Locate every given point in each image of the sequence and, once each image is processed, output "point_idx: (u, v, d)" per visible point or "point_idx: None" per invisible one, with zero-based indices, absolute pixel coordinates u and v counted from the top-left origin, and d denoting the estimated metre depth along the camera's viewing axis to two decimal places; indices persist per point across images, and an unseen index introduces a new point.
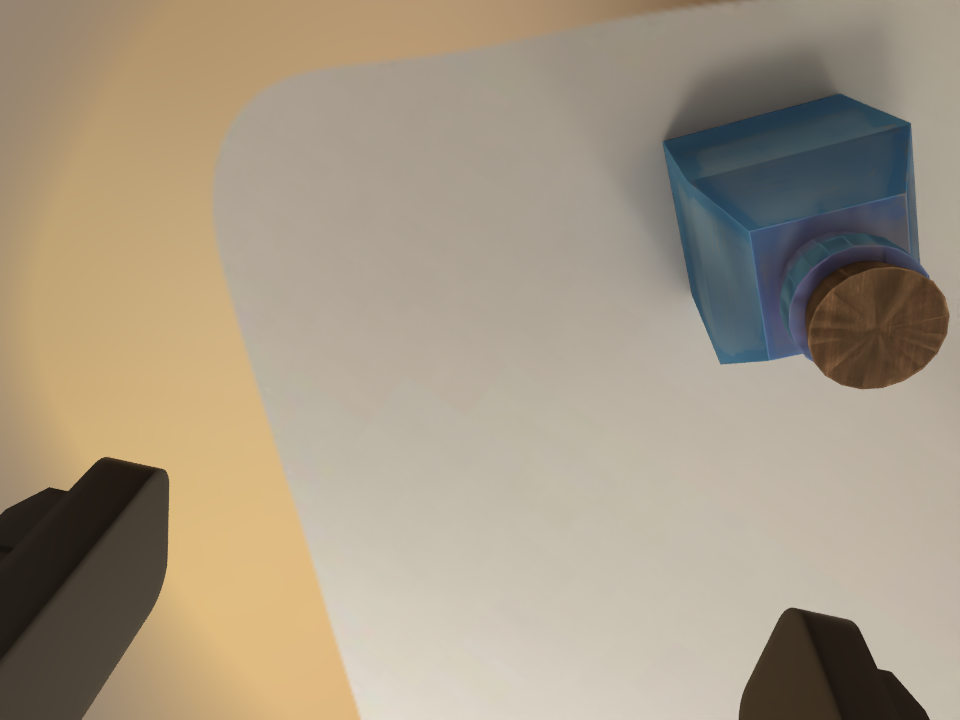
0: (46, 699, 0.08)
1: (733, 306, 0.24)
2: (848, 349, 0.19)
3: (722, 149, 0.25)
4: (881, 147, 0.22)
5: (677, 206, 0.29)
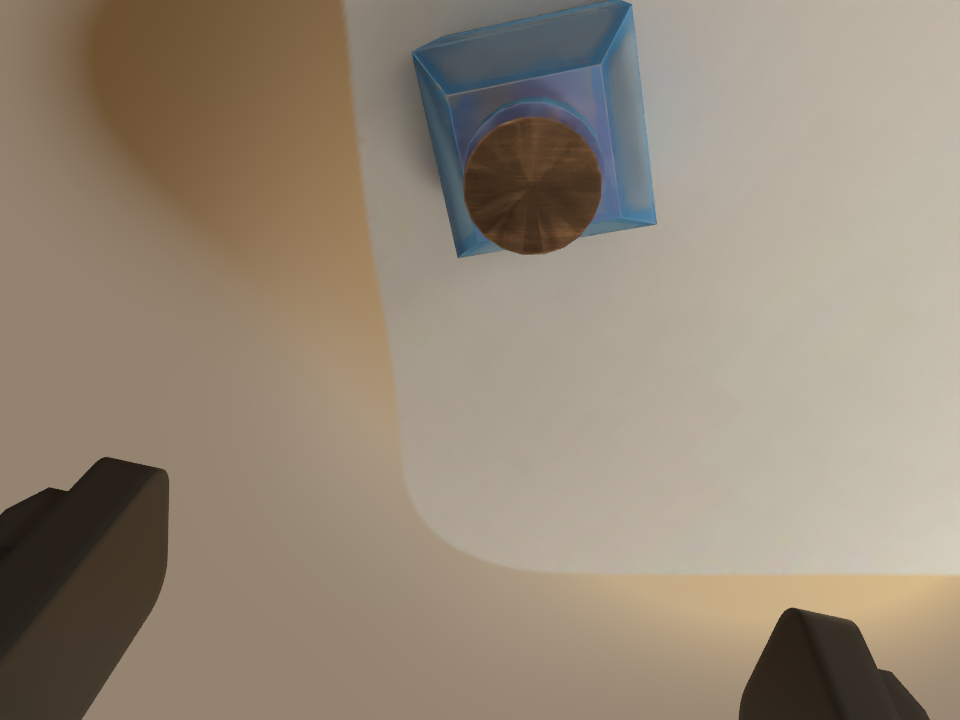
0: (46, 699, 0.08)
1: None
2: (552, 214, 0.18)
3: None
4: (425, 89, 0.22)
5: None
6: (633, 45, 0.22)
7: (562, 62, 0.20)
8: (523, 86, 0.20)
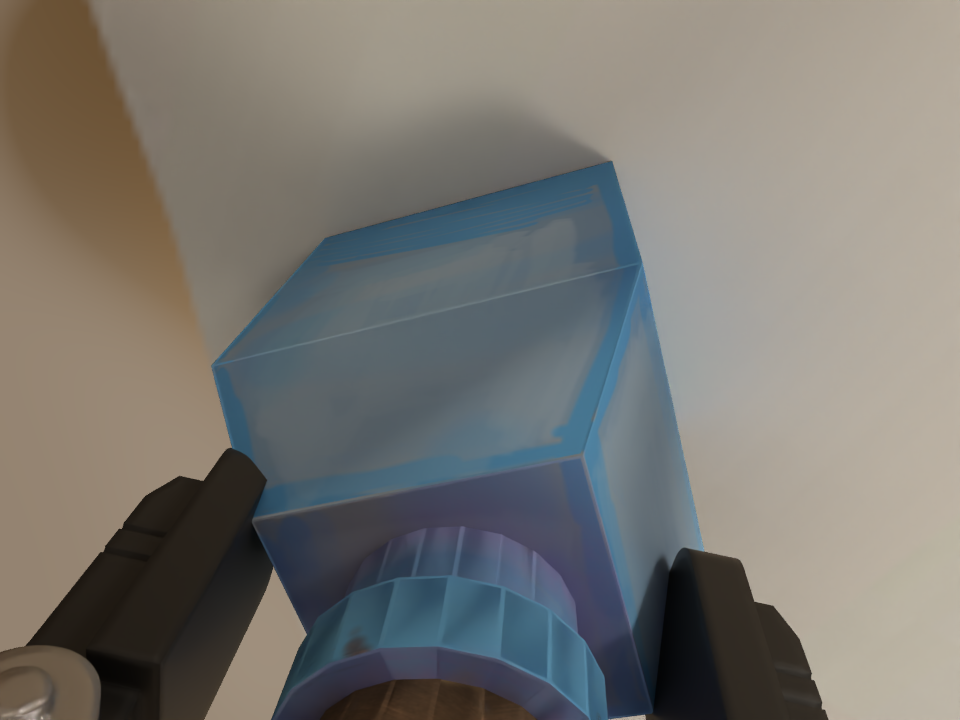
0: (201, 669, 0.08)
1: None
2: None
3: None
4: None
5: None
6: (652, 341, 0.10)
7: (497, 439, 0.09)
8: (413, 500, 0.09)
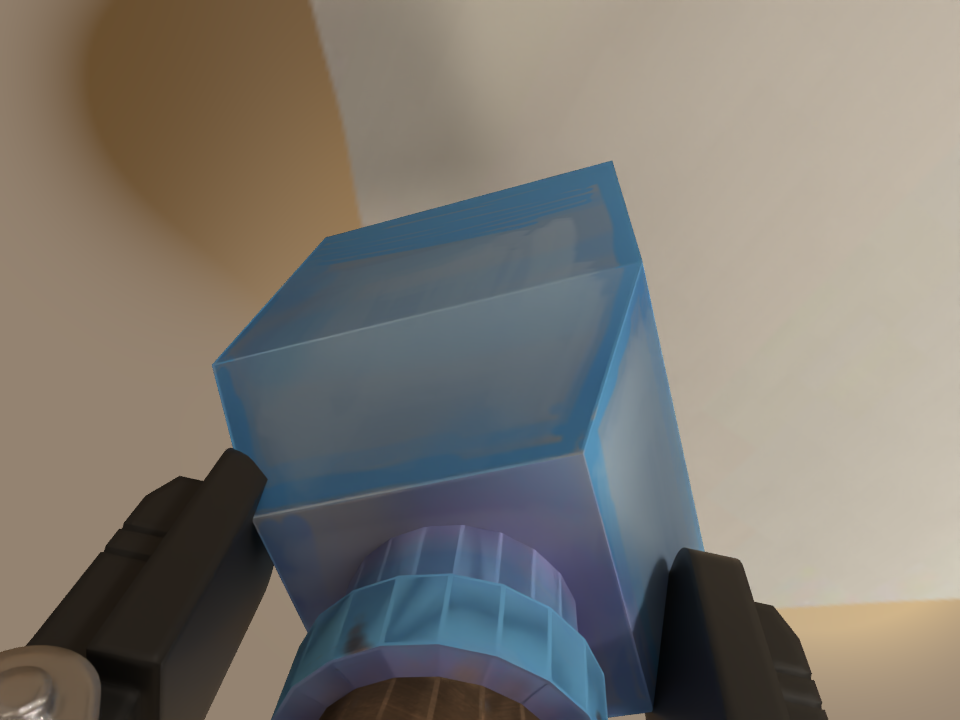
0: (201, 668, 0.08)
1: None
2: None
3: None
4: None
5: None
6: (652, 340, 0.10)
7: (497, 437, 0.09)
8: (413, 498, 0.09)
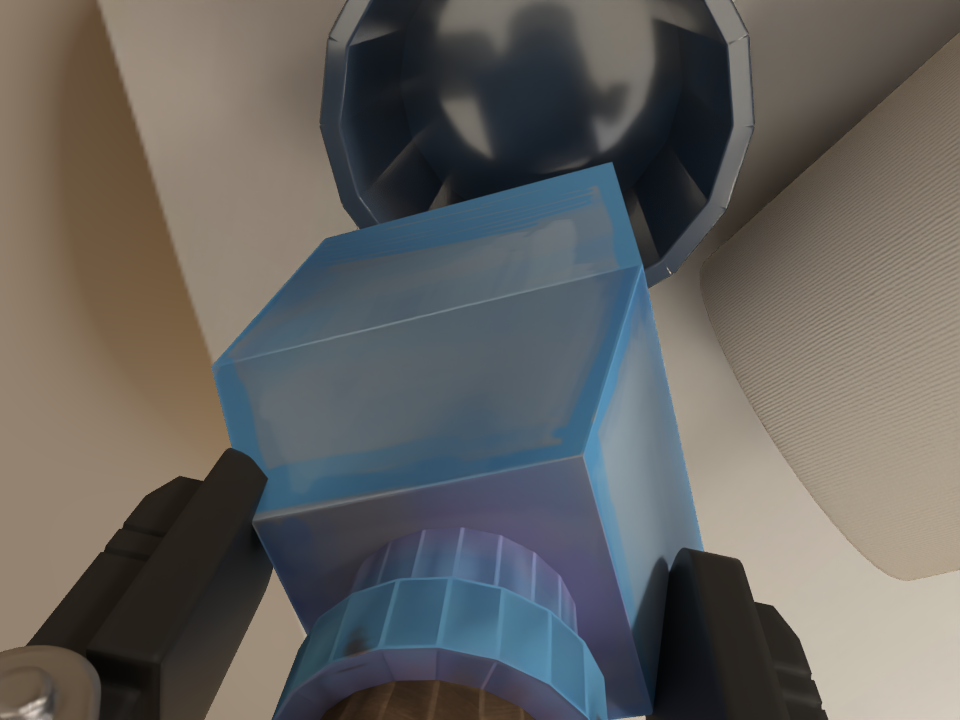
0: (201, 668, 0.08)
1: None
2: None
3: None
4: None
5: None
6: (652, 342, 0.10)
7: (497, 439, 0.09)
8: (413, 501, 0.09)
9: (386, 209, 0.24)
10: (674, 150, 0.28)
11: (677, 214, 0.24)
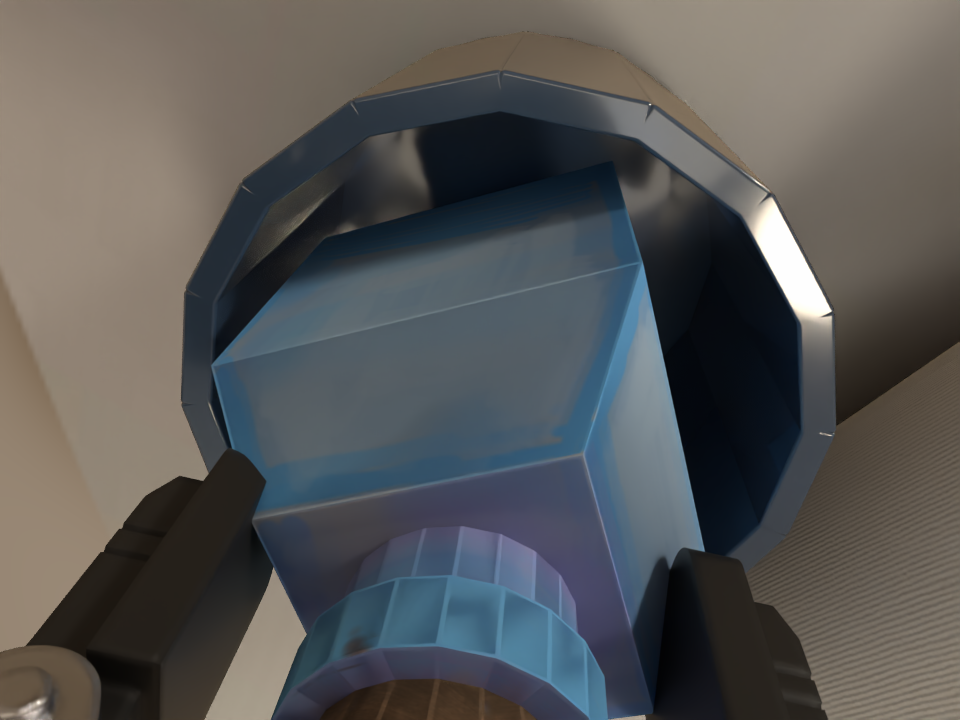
0: (200, 669, 0.08)
1: None
2: None
3: None
4: None
5: None
6: (652, 341, 0.10)
7: (497, 438, 0.09)
8: (413, 500, 0.09)
9: None
10: (700, 358, 0.21)
11: (709, 507, 0.17)
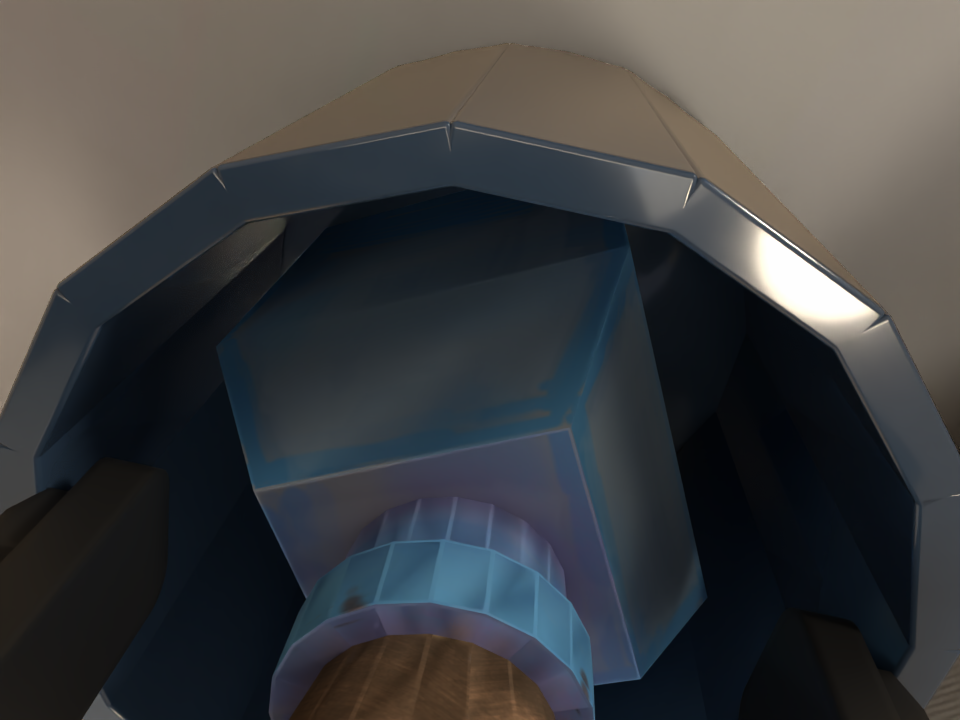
0: (46, 698, 0.08)
1: None
2: None
3: None
4: None
5: None
6: (639, 322, 0.11)
7: (489, 412, 0.09)
8: (408, 472, 0.09)
9: (190, 668, 0.12)
10: (734, 459, 0.16)
11: None
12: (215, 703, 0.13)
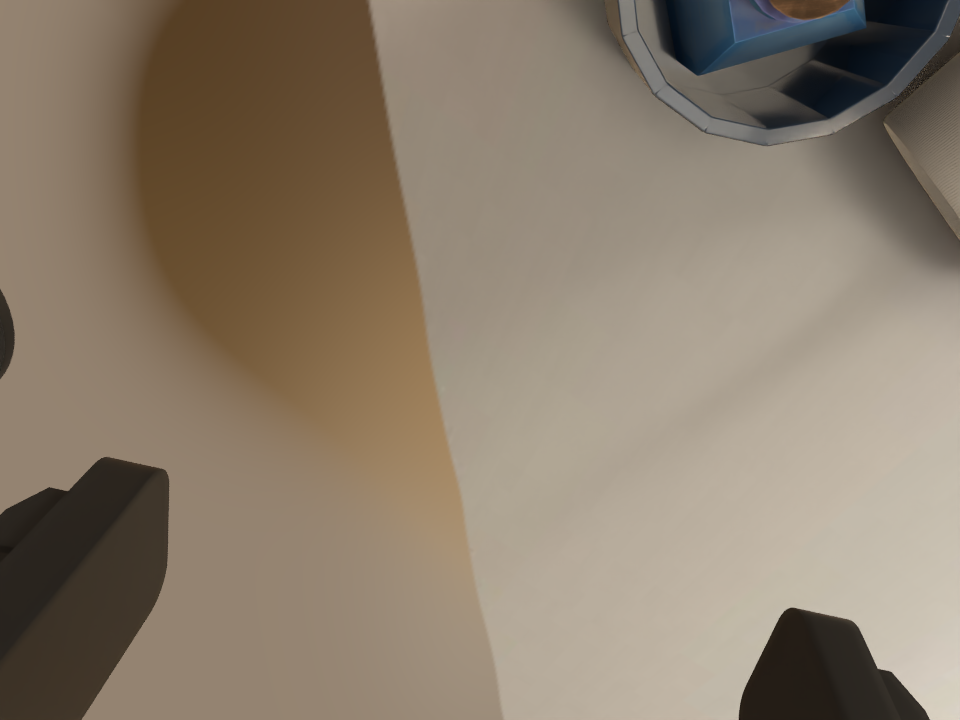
0: (46, 698, 0.08)
1: (804, 34, 0.29)
2: None
3: (681, 31, 0.32)
4: None
5: None
6: None
7: None
8: None
9: None
10: None
11: (894, 52, 0.28)
12: None
